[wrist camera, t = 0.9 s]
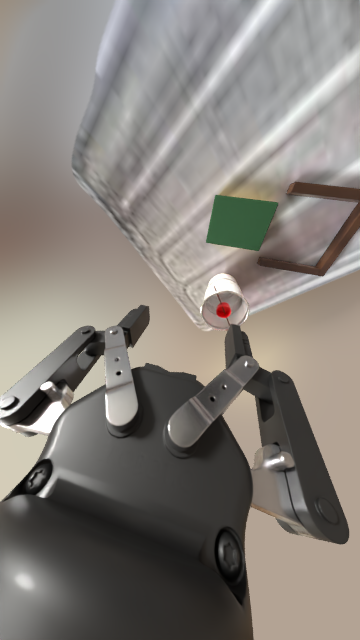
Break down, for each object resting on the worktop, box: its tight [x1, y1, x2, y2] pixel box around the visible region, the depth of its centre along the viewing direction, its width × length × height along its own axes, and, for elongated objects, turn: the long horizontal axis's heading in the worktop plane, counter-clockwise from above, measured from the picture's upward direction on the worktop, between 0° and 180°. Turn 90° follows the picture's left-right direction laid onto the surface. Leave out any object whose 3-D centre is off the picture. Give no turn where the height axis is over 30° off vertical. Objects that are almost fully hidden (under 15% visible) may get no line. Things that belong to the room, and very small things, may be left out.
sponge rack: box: [257, 182, 360, 276], centre depth 25 cm, size 12×12×2 cm
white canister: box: [200, 274, 249, 331], centre depth 30 cm, size 10×8×12 cm
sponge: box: [206, 195, 278, 251], centre depth 26 cm, size 7×10×3 cm
